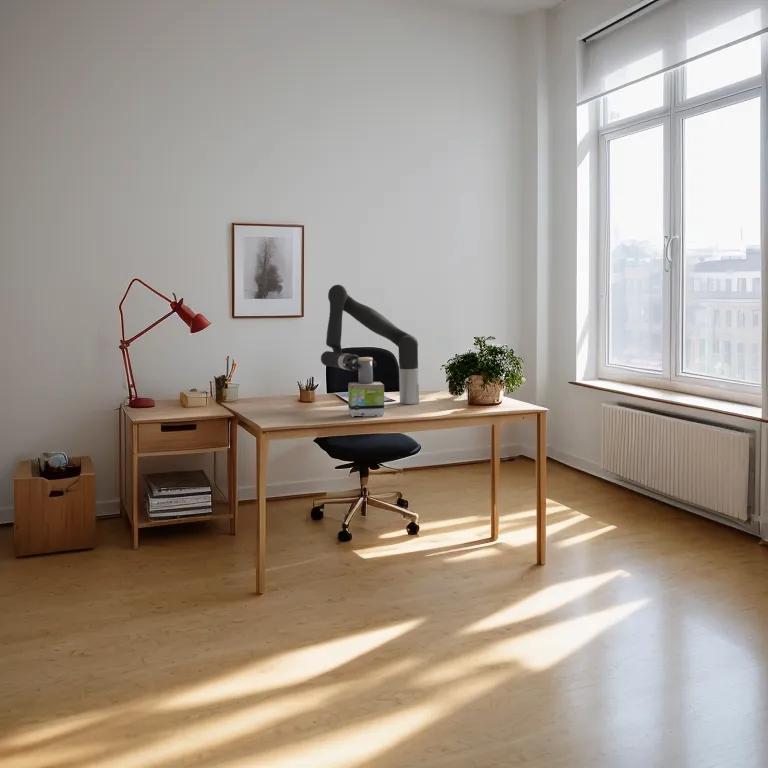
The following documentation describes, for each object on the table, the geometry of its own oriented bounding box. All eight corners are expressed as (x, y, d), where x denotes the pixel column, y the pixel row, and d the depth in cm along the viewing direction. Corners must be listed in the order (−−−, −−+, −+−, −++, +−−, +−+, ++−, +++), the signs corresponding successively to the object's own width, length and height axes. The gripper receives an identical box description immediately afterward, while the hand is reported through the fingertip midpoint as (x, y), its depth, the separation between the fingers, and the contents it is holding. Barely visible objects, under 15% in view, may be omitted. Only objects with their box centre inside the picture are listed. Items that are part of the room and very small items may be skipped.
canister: (372, 381, 367) (372, 356, 365) (373, 383, 360) (372, 358, 359) (358, 382, 366) (357, 357, 365) (358, 384, 360) (358, 358, 358)
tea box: (351, 418, 359) (351, 385, 357) (348, 414, 369) (347, 382, 367) (384, 416, 362) (384, 383, 360) (380, 412, 372) (379, 380, 370)
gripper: (335, 355, 370) (353, 357, 356) (362, 352, 377) (380, 355, 364) (336, 371, 371) (354, 374, 357) (362, 368, 378) (381, 372, 365)
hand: (367, 365), depth 361 cm, fingers open, 8 cm apart
